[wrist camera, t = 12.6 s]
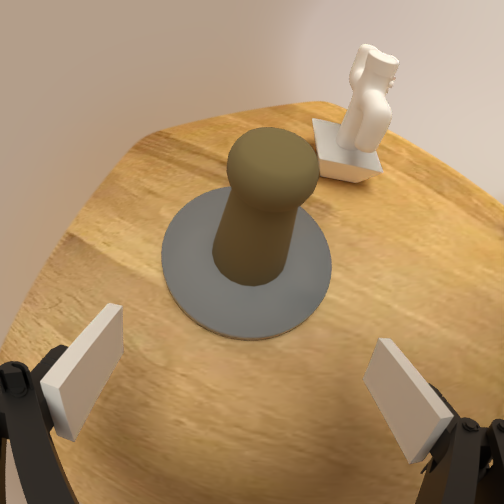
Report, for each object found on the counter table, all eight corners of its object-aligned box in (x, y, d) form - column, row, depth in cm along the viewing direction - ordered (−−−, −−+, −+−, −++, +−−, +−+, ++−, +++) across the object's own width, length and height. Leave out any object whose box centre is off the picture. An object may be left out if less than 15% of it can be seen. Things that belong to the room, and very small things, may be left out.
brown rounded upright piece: (196, 260, 23) (197, 150, 14) (236, 210, 27) (256, 102, 17) (265, 300, 23) (310, 207, 13) (298, 243, 26) (347, 143, 16)
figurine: (309, 191, 31) (363, 63, 18) (303, 136, 36) (338, 28, 23) (371, 202, 32) (438, 92, 19) (356, 147, 36) (401, 50, 24)
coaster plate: (343, 233, 29) (370, 191, 23) (293, 370, 21) (323, 352, 16) (213, 175, 30) (217, 126, 25) (130, 288, 23) (111, 247, 17)
